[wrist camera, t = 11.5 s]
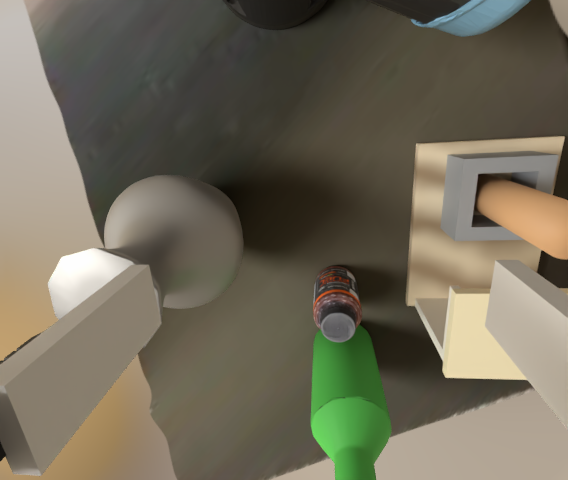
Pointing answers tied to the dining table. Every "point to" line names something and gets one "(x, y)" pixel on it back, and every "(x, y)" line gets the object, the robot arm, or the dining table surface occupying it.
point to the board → (473, 254)
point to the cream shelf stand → (466, 335)
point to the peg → (525, 213)
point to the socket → (463, 182)
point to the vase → (159, 245)
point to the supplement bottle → (336, 304)
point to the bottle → (349, 404)
